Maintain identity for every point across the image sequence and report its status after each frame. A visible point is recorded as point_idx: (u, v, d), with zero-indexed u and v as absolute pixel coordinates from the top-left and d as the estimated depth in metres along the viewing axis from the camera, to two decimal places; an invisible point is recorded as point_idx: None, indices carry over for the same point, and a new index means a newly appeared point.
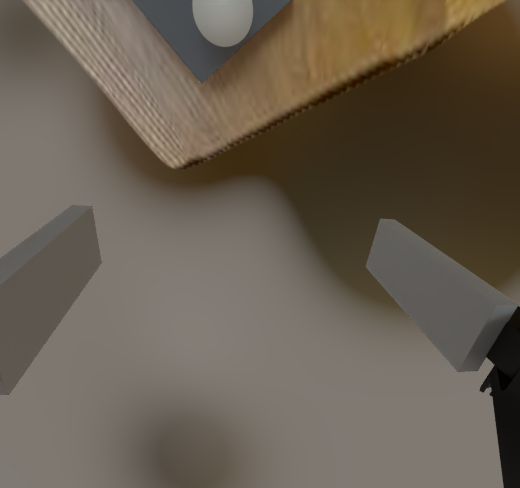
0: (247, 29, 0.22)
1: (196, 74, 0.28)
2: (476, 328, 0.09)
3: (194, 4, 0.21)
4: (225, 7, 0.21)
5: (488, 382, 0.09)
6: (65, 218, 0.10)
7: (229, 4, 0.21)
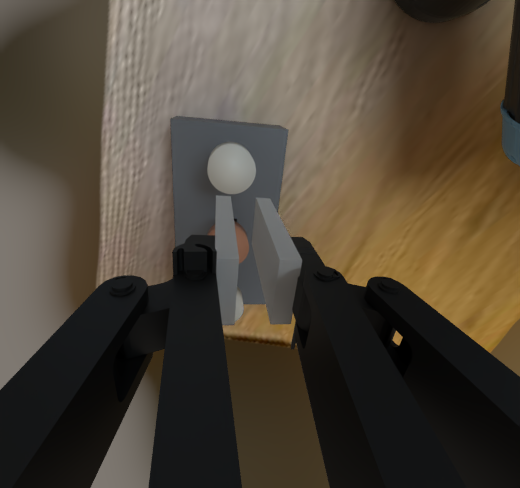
0: None
1: None
2: (275, 283, 0.10)
3: None
4: None
5: (294, 339, 0.10)
6: (223, 204, 0.13)
7: None
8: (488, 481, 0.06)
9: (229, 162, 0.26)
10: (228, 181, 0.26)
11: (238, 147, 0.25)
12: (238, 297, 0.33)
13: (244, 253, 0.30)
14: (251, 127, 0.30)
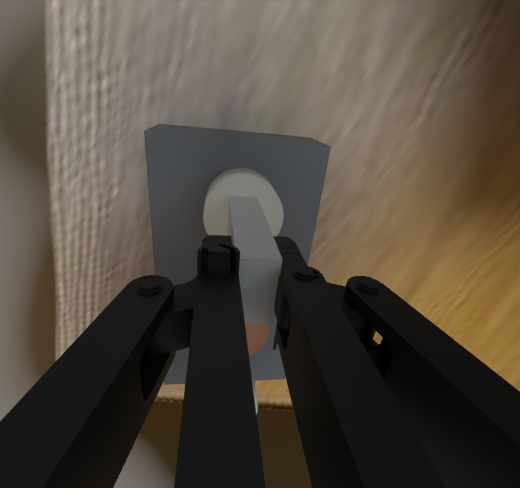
0: None
1: (165, 377, 0.27)
2: None
3: None
4: None
5: (276, 340, 0.10)
6: (236, 205, 0.14)
7: None
8: (469, 481, 0.05)
9: None
10: None
11: (255, 181, 0.15)
12: None
13: (261, 340, 0.19)
14: (273, 143, 0.19)
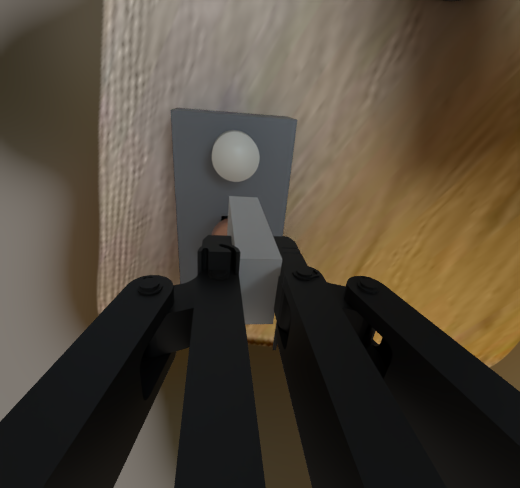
0: None
1: None
2: None
3: None
4: None
5: (276, 340, 0.10)
6: (237, 205, 0.14)
7: None
8: (469, 481, 0.05)
9: (233, 150, 0.26)
10: (232, 169, 0.27)
11: (242, 134, 0.26)
12: None
13: None
14: (257, 117, 0.28)
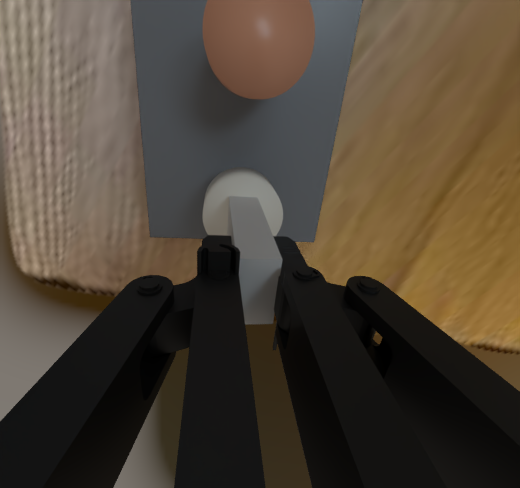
0: None
1: (152, 225, 0.20)
2: None
3: (218, 188, 0.15)
4: None
5: (276, 340, 0.10)
6: (237, 205, 0.14)
7: None
8: (469, 481, 0.05)
9: None
10: None
11: None
12: (273, 189, 0.15)
13: (301, 57, 0.12)
14: None
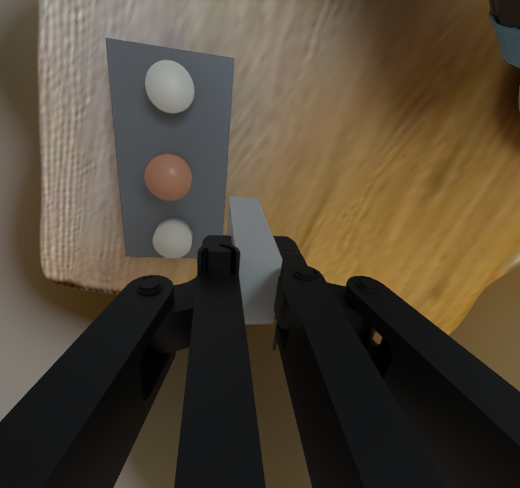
0: (179, 256, 0.34)
1: (126, 249, 0.36)
2: None
3: (159, 229, 0.33)
4: (174, 241, 0.34)
5: (276, 340, 0.10)
6: (237, 205, 0.14)
7: (177, 242, 0.34)
8: (469, 481, 0.05)
9: (166, 78, 0.27)
10: (166, 99, 0.27)
11: (174, 62, 0.26)
12: (186, 229, 0.33)
13: (186, 185, 0.28)
14: (194, 53, 0.28)
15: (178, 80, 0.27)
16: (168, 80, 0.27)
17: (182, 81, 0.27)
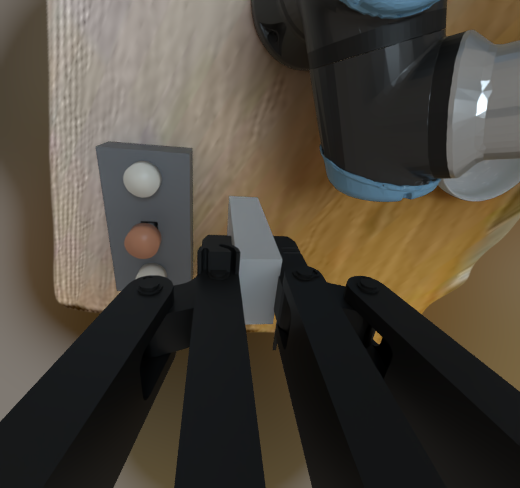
0: None
1: (117, 286, 0.47)
2: None
3: (139, 274, 0.44)
4: None
5: (276, 340, 0.10)
6: (237, 205, 0.14)
7: None
8: (469, 481, 0.05)
9: (138, 175, 0.37)
10: (139, 189, 0.38)
11: (143, 165, 0.37)
12: (159, 273, 0.44)
13: (155, 248, 0.39)
14: (160, 152, 0.39)
15: (147, 176, 0.37)
16: (139, 177, 0.37)
17: (149, 177, 0.37)
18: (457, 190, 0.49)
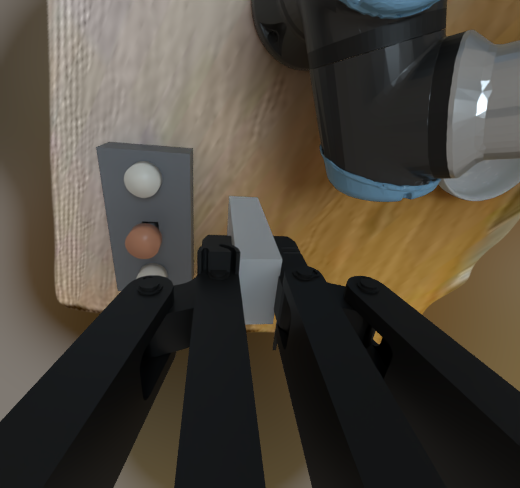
0: None
1: (118, 286, 0.47)
2: None
3: (140, 274, 0.44)
4: None
5: (276, 340, 0.10)
6: (237, 205, 0.14)
7: None
8: (469, 481, 0.05)
9: (138, 176, 0.37)
10: (140, 189, 0.38)
11: (144, 166, 0.37)
12: (160, 273, 0.45)
13: (156, 248, 0.39)
14: (160, 152, 0.39)
15: (147, 176, 0.37)
16: (140, 177, 0.37)
17: (150, 177, 0.38)
18: (458, 190, 0.49)
